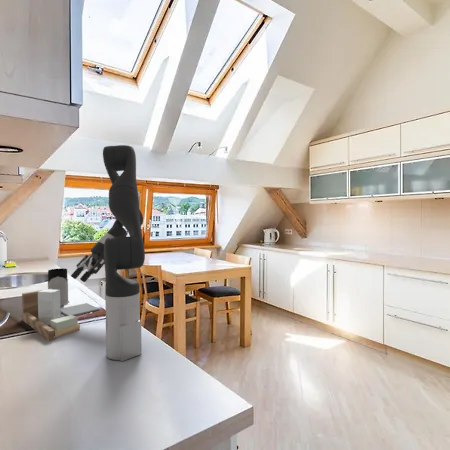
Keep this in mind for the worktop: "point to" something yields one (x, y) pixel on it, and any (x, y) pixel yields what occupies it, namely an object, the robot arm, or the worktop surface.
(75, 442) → the worktop surface
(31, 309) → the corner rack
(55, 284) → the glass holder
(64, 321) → the offcut top
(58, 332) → the offcut bottom
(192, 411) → the worktop surface
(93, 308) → the rubber mat
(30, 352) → the worktop surface
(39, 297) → the skincare box
